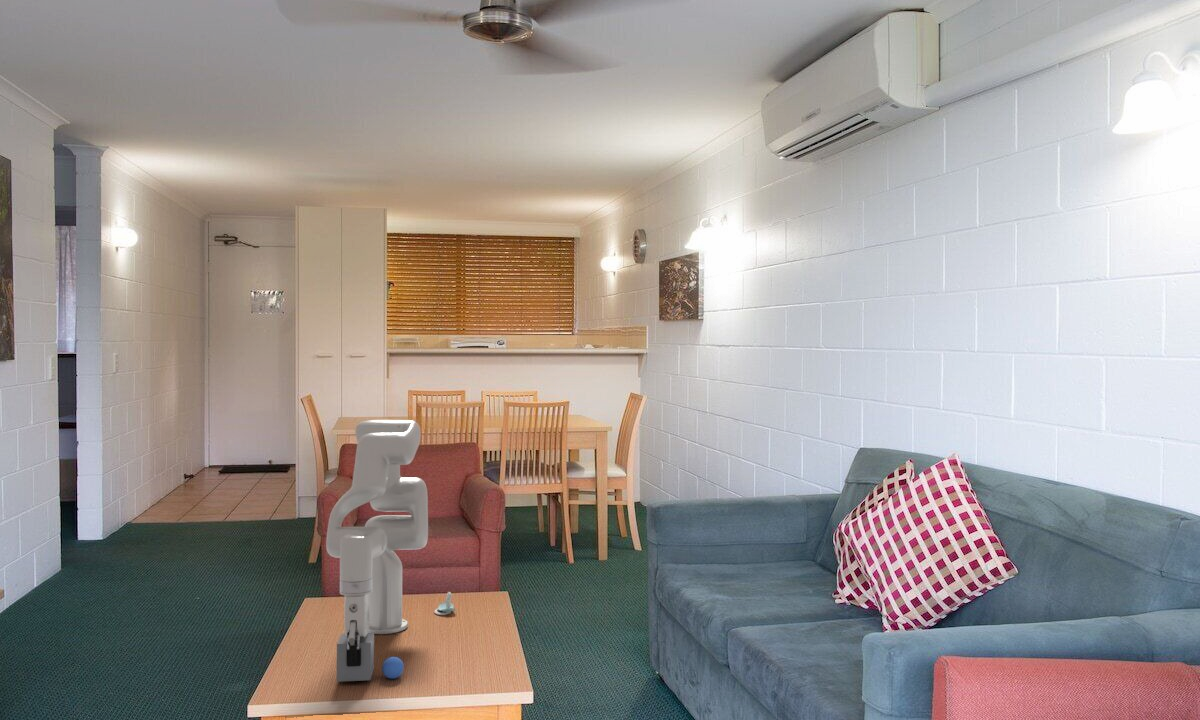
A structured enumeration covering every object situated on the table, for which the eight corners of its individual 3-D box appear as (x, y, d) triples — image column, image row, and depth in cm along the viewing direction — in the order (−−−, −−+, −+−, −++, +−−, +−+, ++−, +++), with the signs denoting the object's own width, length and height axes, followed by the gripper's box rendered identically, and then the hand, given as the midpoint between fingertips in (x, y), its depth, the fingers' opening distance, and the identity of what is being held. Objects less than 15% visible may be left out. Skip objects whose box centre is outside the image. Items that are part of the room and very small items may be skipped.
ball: (377, 679, 219) (377, 658, 219) (392, 673, 223) (392, 652, 223) (393, 683, 216) (393, 662, 216) (408, 676, 221) (408, 656, 221)
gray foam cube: (336, 681, 214) (336, 643, 214) (341, 669, 222) (341, 633, 222) (370, 680, 215) (370, 642, 215) (373, 668, 223) (374, 632, 223)
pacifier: (436, 617, 271) (456, 615, 273) (435, 596, 271) (456, 594, 272) (432, 611, 278) (452, 608, 280) (432, 590, 278) (452, 588, 279)
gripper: (368, 595, 210) (368, 671, 210) (376, 576, 227) (376, 647, 228) (334, 596, 209) (334, 673, 209) (344, 577, 226) (344, 648, 227)
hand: (356, 659), depth 219 cm, fingers closed on gray foam cube, 7 cm apart
